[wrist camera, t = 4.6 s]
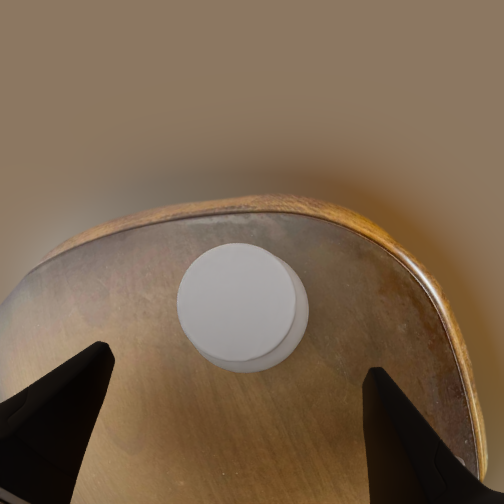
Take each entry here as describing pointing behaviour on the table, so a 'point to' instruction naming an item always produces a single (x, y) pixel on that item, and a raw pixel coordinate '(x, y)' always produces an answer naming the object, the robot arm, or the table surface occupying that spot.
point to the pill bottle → (242, 307)
